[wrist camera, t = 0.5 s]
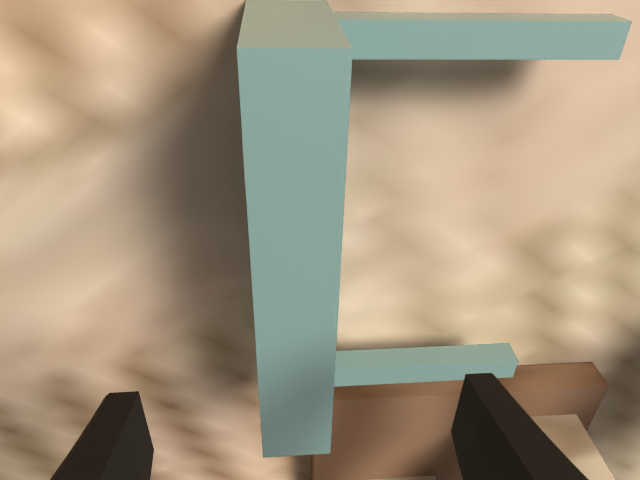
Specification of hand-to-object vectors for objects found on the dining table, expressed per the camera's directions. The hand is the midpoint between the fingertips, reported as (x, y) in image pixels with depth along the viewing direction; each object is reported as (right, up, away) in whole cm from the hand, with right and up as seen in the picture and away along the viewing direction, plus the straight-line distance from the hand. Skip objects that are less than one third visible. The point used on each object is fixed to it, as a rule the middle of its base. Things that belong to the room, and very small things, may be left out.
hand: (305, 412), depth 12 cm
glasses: (+3, +5, +8) cm, 10 cm away
